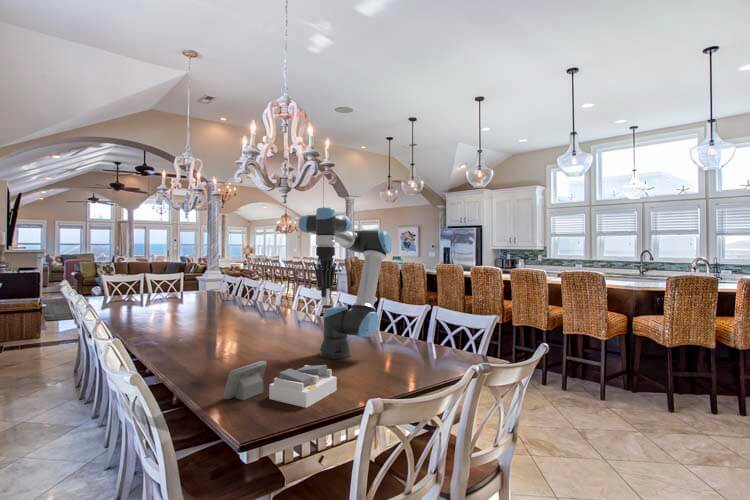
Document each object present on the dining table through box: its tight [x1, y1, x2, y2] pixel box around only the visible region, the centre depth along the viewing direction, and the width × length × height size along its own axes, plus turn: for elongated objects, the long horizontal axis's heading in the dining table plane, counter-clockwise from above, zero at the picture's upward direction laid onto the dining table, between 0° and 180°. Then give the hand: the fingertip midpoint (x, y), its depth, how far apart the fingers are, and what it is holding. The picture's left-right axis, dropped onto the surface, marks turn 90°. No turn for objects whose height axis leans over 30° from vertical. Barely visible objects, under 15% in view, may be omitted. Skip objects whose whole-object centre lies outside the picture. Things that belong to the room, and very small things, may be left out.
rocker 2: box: [295, 364, 328, 375], centre depth 149 cm, size 10×5×2 cm, turn 62°
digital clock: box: [223, 360, 267, 401], centre depth 145 cm, size 16×9×11 cm, turn 137°
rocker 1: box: [278, 368, 312, 386], centre depth 141 cm, size 10×5×2 cm, turn 62°
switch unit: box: [268, 364, 338, 409], centre depth 145 cm, size 16×18×7 cm
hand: (325, 304), depth 163 cm, fingers closed
